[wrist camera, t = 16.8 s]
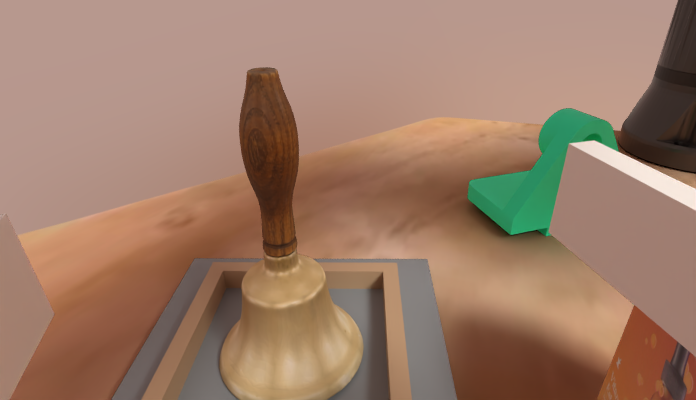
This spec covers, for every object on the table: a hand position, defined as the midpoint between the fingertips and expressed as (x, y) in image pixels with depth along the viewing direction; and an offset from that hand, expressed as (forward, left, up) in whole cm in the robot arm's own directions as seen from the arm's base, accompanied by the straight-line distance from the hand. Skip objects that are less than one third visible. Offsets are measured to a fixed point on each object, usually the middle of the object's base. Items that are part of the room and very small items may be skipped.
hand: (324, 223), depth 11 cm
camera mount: (-17, -27, -16) cm, 36 cm away
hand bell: (+3, -9, -14) cm, 17 cm away
